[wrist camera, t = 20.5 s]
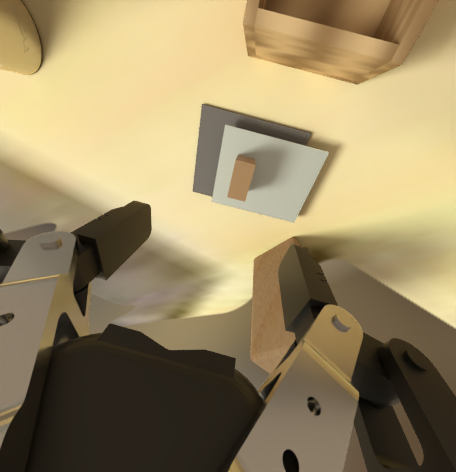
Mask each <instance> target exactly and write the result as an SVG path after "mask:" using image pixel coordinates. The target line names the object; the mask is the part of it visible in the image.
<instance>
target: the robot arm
mask: <svg viewBox="0 0 456 472" xmlns="http://www.w3.org/2000/svg"><path fill="white" fill-rule="evenodd" d="M41 57H42V53H41V44H40V39H39V36H38V33H37V30H36V27H35V25H34V22H33V20H32V18H31V16H30V14H29V12H28V11H27V9H26V7H25V6H24V4H23V3H22V1H21V0H0V69H2V70H7V71H11V72H16V73H20V74H24V75H29V74H32V73H35V72H36V71H37V70H38V68H39V66H40V64H41ZM150 234H151V207H150V205H149V204H145V203H142V202H138V201H132V202H131V203H129V204H127V205H126V206H124V207H120V208H116V209H112V210H110V211H109V212H107V213H105V214H104V215H102V216H100V217H98V218H97V219H94V220H93V221H91V222H89V223H87V224H85V225H84V226H82V227H80V228H78V229H76V230H75V231H73V232H71V233H69V232H64V231H54V232H47V233H43V234H39V235H37V236H34V237H32V238H30V239H29V240H27V241H20V240H7V239H6V237H5V235H4V234H3V232H2V231H1V230H0V472H342V471H343V467H344V463H345V458H346V454H347V450H348V445H349V440H350V436H351V432H352V427H353V423H354V425H355V429H356V432H357V435H358V439H359V443H360V446H361V450H362V453H363V457H364V460H365V464H366V468H367V471H368V472H456V397H455V395H454V394H453V392H452V391H451V390H450V388H449V386H448V385H447V383H446V382H445V381H444V379H443V378H442V376H441V375H440V373H439V372H438V371H437V369H436V368H435V367H434V365H433V364H432V363H431V362H430V360H429V359H428V358H427V357H426V356H425V355H424V354H423V353H421V352H420V351H419V350H418V349H417V348H415V347H414V346H412V345H411V344H409V343H407V342H405V341H403V340H401V339H396V338H394V339H391V340H389V341H388V342H386V343H385V344H384V343H382V342H380V341H378V340H376V339H374V338H373V337H371V336H369V335H367V334H365V333H363V332H362V329H361V327H360V325H359V324H358V322H357V321H356V319H355V318H354V317H353V316H352V315H351V314H350V313H348V312H347V311H346V310H344V309H342V308H341V307H338V305H337V302H336V300H335V298H334V296H333V294H332V291H331V289H330V287H329V285H328V283H327V280H326V278H325V276H324V273H323V271H322V269H321V267H320V265H319V264H318V263H317V262H316V261H315V260H314V259H312V258H311V257H310V254H309V252H308V249H307V248H306V247H302V246H299V245H295V244H291V245H290V247H289V249H288V250H287V252H286V254H285V256H284V258H283V260H282V262H281V264H280V266H279V270H278V278H279V286H280V293H281V301H282V309H283V316H284V324H285V331H289V332H293V333H295V338H296V339H295V340H294V341H293V342H292V344H291V345H290V347H289V348H288V350H287V351H286V352H285V354H284V355H283V357H282V358H281V360H280V361H279V363H278V364H277V366H276V367H275V369H274V370H273V372H272V373H271V374H270V376H269V377H268V378H267V380H266V381H265V382H264V384H263V385H262V386H261V387H260V389H259V390H258V391H257V390H256V388H255V387H254V386H253V385H252V383H251V382H250V381H249V380H248V379H247V378H246V377H245V376H244V375H243V374H241V373H240V372H239V371H237V370H236V369H235V360H236V359H235V358H232V357H229V356H226V355H222V354H218V353H215V352H211V351H207V350H168V349H166V348H164V347H163V346H161V345H159V344H158V343H157V342H155V341H154V340H152V339H151V338H149V337H148V336H146V335H144V334H143V333H141V332H139V331H135V330H132V329H128V328H124V327H121V326H117V325H114V324H109V325H108V326H107V328H106V329H105V330H104V332H103V333H97V334H90V331H89V311H90V299H91V288H92V284H91V281H92V280H93V279H94V278H95V277H96V278H100V279H103V280H107V279H108V278H109V277H110V276H111V275H112V274H113V273H114V272H115V271H116V270H117V269H118V268H119V267H120V266H121V265H122V264H123V263H124V262H125V261H126V260H127V259H128V258H129V257H130V256H131V255H132V254H133V253H134V252H135V251H136V250H137V249H138V248H139V247H140V246H141V245H142V244H143V243H144V242H145V241H146V240H147V239H148V238H149V236H150ZM398 403H401V404H402V405H403V407H404V410H405V412H406V414H407V416H408V418H409V420H410V422H411V424H412V426H413V429H414V431H415V433H416V435H417V437H418V439H419V441H420V443H421V446H422V449H423V454H424V460H423V463H422V465H421V466H418V463H417V461H416V459H415V457H414V454H413V452H412V450H411V448H410V445H409V443H408V441H407V439H406V436H405V434H404V432H403V429H402V427H401V425H400V423H399V420H398V418H397V416H396V414H395V411H394V409H393V407H392V406H393V405H396V404H398Z"/></svg>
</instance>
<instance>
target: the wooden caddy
mask: <svg viewBox="0 0 456 472" xmlns="http://www.w3.org/2000/svg"><path fill="white" fill-rule="evenodd" d="M438 1H439V0H247V4H246V10H245V15H244V21H243V25H244V32H245V39H246V45H247V52H248V56H251V57H255V58H259V59H262V60H266V61H270V62H274V63H278V64H281V65H285V66H289V67H293V68H297V69H300V70H304V71H308V72H312V73H316V74H319V75H323V76H327V77H331V78H335V79H339V80H342V81H346V82H350V83H354V84H359V83H361V82H364V81H366V80H368V79H370V78H373V77H375V76H377V75H379V74H382V73H384V72H386V71H389V70H391V69H393V68H395V67H398V66H400V65H402V64H403V62H404V60H405V59H406V57H407V55H408V53H409V52H410V50H411V48H412V46H413V45H414V43H415V41H416V39H417V38H418V36H419V34H420V32H421V31H422V29H423V27H424V25H425V24H426V22H427V20H428V18H429V16H430V15H431V13H432V11H433V9H434V8H435V6H436V4H437V2H438Z"/></svg>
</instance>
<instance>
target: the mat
mask: <svg viewBox="0 0 456 472" xmlns="http://www.w3.org/2000/svg"><path fill="white" fill-rule="evenodd" d="M225 125H229V126H233V127H237V128H240V129H244V130H248V131H252V132H256V133H259V134H263V135H267V136H271V137H275V138H278V139H282V140H286V141H290V142H293V143H297V144H301V145H305V146H306V144H307V142H308V140H309V137H310V135H311V133H308V132H305V131H301V130H297V129H293V128H290V127H286V126H282V125H278V124H275V123H271V122H267V121H263V120H260V119H256V118H252V117H248V116H244V115H241V114H237V113H233V112H229V111H226V110H222V109H218V108H214V107H211V106H207V105H203V104H202V110H201V119H200V128H199V138H198V147H197V156H196V165H195V175H194V184H193V192H197V193H201V194H205V195H208V196H213V191H214V185H215V179H216V174H217V168H218V162H219V157H220V151H221V145H222V140H223V134H224V128H225Z"/></svg>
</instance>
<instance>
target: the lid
mask: <svg viewBox="0 0 456 472" xmlns="http://www.w3.org/2000/svg"><path fill="white" fill-rule="evenodd" d="M328 154H329V152H327V151H324V150H320V149H316V148H312V147H309V146H305V145H301V144H297V143H293V142H290V141H286V140H282V139H278V138H275V137H271V136H267V135H263V134H259V133H256V132H252V131H248V130H244V129H240V128H237V127H233V126H229V125H225V128H224V134H223V140H222V145H221V151H220V157H219V162H218V168H217V174H216V179H215V185H214V191H213V196H212V202H215V203H219V204H222V205H226V206H230V207H234V208H238V209H242V210H246V211H250V212H254V213H258V214H262V215H266V216H270V217H274V218H278V219H282V220H286V221H290V222H295V220H296V218H297V216H298V214H299V212H300V210H301V208H302V206H303V204H304V202H305V200H306V198H307V196H308V194H309V192H310V190H311V188H312V186H313V184H314V182H315V180H316V178H317V176H318V174H319V172H320V170H321V168H322V166H323V164H324V162H325V160H326V158H327V156H328Z"/></svg>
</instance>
